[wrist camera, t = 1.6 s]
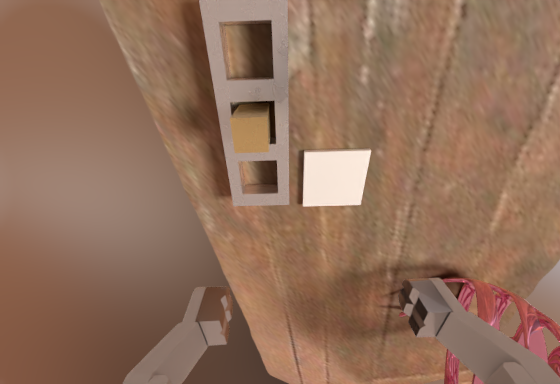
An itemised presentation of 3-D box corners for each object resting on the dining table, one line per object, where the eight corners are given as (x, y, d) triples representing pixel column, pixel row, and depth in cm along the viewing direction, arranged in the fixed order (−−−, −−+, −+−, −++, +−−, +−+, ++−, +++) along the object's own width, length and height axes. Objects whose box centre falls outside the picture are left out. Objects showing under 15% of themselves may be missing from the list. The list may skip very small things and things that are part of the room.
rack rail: (206, 1, 25) (198, -6, 22) (286, -2, 25) (287, -9, 22) (236, 196, 39) (233, 206, 36) (288, 194, 39) (289, 204, 36)
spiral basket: (375, 426, 44) (595, 581, 29) (396, 314, 35) (723, 453, 21) (397, 324, 66) (530, 383, 51) (414, 240, 57) (579, 281, 42)
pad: (304, 150, 34) (304, 152, 34) (369, 148, 34) (371, 150, 34) (302, 203, 40) (302, 206, 39) (359, 202, 40) (360, 204, 39)
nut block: (240, 104, 31) (229, 118, 24) (269, 103, 31) (266, 117, 24) (243, 132, 33) (234, 153, 26) (270, 131, 33) (268, 152, 26)
